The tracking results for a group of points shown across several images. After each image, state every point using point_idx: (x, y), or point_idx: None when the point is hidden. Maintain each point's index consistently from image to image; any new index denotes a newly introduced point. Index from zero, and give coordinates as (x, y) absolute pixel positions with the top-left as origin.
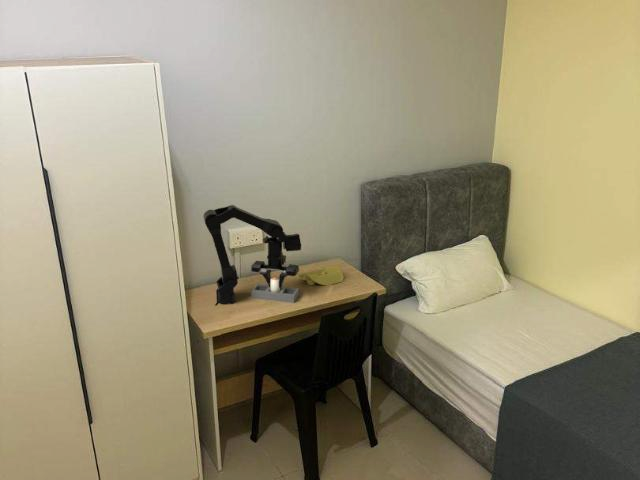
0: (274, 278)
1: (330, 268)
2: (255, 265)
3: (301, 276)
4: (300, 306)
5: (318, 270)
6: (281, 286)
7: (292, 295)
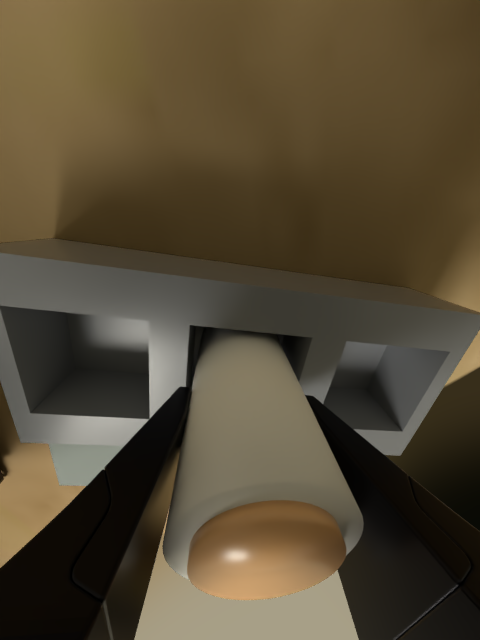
0: (257, 582)
1: None
2: None
3: None
4: None
5: None
6: (320, 404)
7: (393, 448)
